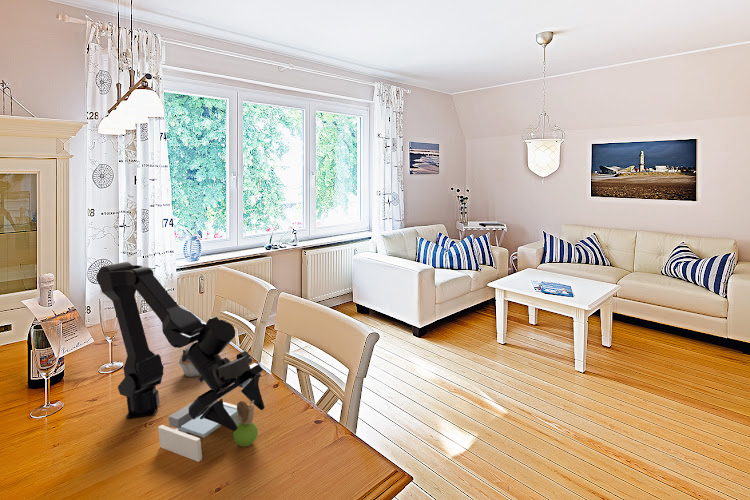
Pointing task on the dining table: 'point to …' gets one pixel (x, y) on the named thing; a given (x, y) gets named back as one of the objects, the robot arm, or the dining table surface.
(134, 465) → the dining table surface
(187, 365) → the cupcake
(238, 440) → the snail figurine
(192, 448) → the frame
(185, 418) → the trapdoor
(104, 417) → the dining table surface
